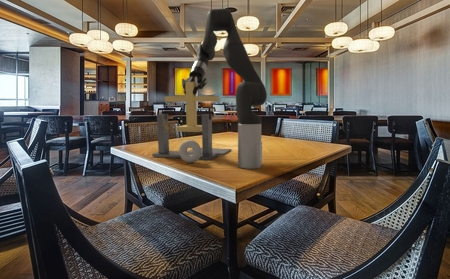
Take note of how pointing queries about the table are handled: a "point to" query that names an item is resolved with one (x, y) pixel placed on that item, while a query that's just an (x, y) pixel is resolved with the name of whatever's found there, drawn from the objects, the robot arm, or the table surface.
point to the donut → (196, 149)
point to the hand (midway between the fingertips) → (189, 93)
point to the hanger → (191, 107)
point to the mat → (217, 151)
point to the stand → (205, 154)
